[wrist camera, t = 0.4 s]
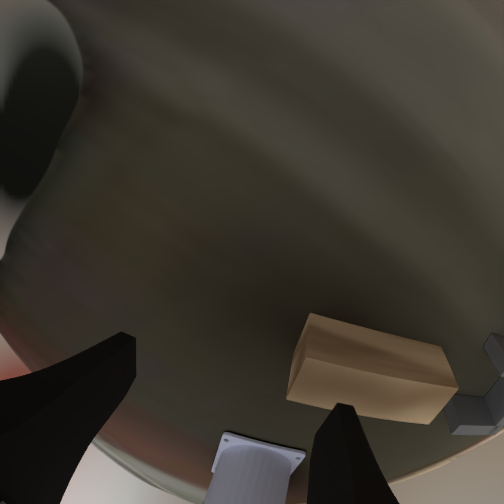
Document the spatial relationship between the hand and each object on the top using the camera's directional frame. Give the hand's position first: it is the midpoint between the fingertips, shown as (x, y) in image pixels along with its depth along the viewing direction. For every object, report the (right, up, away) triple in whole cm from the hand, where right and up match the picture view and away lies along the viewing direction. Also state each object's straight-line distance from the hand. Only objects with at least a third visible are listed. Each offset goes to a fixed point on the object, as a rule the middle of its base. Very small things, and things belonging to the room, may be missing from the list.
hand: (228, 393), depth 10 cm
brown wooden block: (+9, -2, +9) cm, 13 cm away
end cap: (+20, -5, +8) cm, 22 cm away
